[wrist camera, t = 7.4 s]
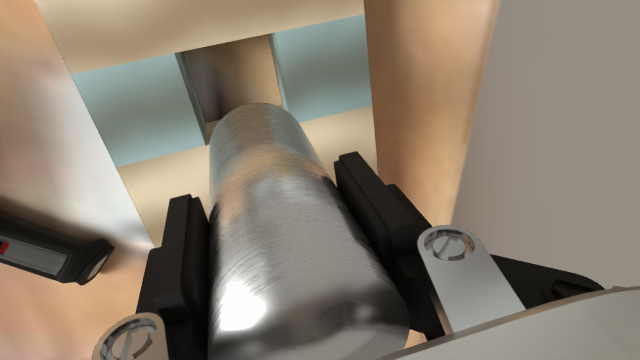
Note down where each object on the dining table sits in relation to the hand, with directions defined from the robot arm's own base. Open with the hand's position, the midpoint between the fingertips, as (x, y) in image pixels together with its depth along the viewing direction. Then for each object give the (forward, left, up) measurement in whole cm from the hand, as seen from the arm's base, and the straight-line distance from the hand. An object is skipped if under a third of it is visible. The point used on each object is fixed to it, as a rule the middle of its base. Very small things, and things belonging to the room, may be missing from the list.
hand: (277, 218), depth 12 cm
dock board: (+7, 0, -17) cm, 18 cm away
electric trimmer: (+6, -18, -17) cm, 26 cm away
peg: (0, 0, -5) cm, 5 cm away
